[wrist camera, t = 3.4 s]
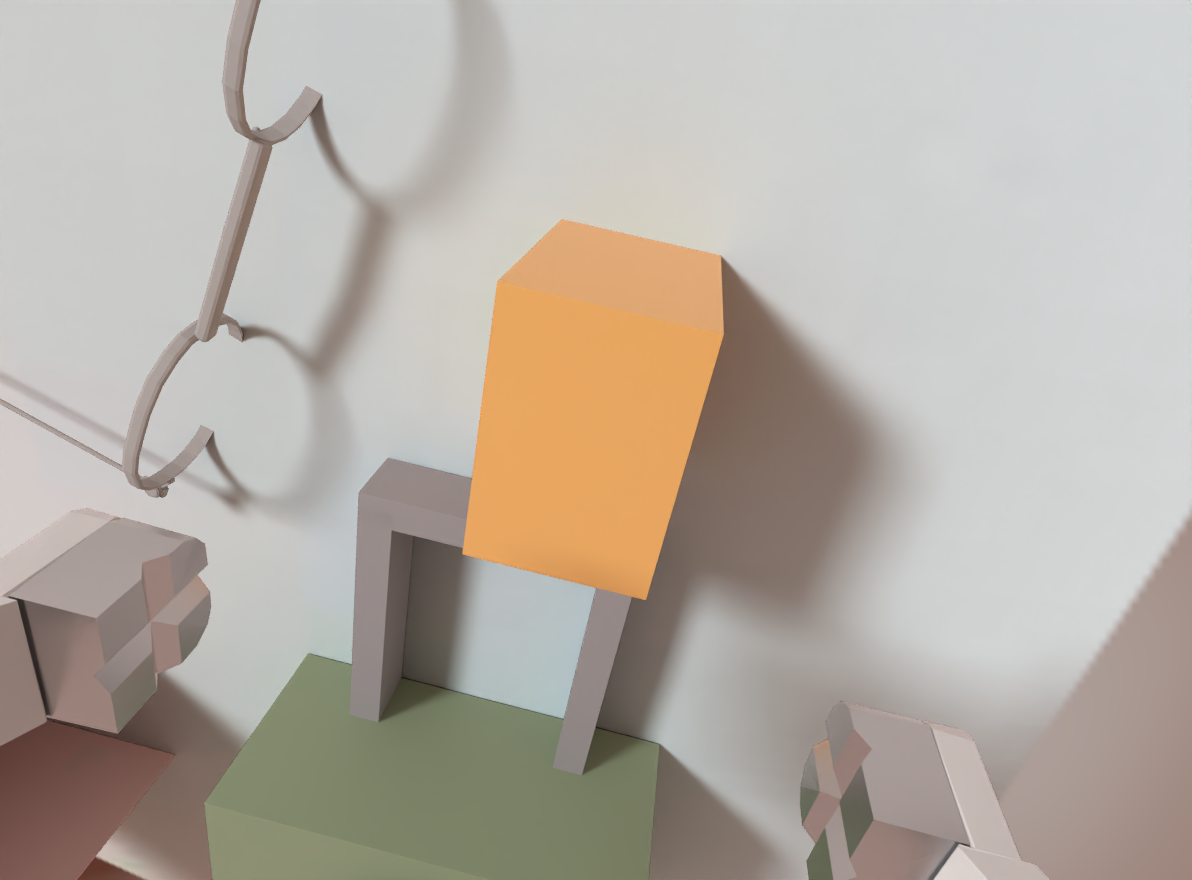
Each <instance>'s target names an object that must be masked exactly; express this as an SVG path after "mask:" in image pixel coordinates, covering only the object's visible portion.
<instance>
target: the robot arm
mask: <svg viewBox="0 0 1192 880" xmlns="http://www.w3.org/2000/svg"><path fill="white" fill-rule="evenodd" d="M207 565H208V562H207V555H206V548H205V543H203V542H201V541H200V540H198V539H197V538H194V537H191V536H187V535H183V534H180V533H176V532H173V531H169V530H166V529H162V528H158V527H155V526H151V525H148V524H144V523H141V522H137V521H133V520H130V519H126V518H119V517H115V516H112V515H109V514H105V513H102V512H98V511H95V510H91V509H88V508H86V509H80V510H75V511H71V512H69V513H68V514H66V515H65V516H63V517H62V518H60V519H59V520H57V521H56V522H55V523H53V524H52V525H50V526H49V527H47V528H46V529H44V530H43V531H41V532H40V533H38V534H37V535H35V536H34V537H32V538H31V539H29V540H28V541H26V542H25V543H23V544H22V545H20V546H19V547H17V548H16V549H14V550H13V551H11V552H10V553H8V554H7V555H5V556H4V557H3V558H1V559H0V746H1V745H3V744H5V743H7V742H9V741H11V740H13V739H15V738H17V737H19V736H21V735H22V734H24V733H26V732H28V731H30V730H32V729H34V728H36V727H38V726H40V725H42V724H44V723H45V722H47V717H48V718H52V719H57V720H61V721H65V722H70V723H74V724H78V725H82V726H87V727H91V728H95V729H100V730H104V731H108V732H112V733H117V734H118V733H119V732H120V731H121V730H122V729H123V727H124V726H125V725H126V724H127V723H128V722H129V721H130V720H131V719H132V718H133V716H134V715H135V714H136V713H137V712H138V711H139V710H140V709H141V708H142V707H143V705H144V704H145V703H146V702H147V701H148V700H149V699H150V698H151V697H152V696H153V694H154V693H155V692H156V691H157V674H158V673H160V672H163V671H165V670H167V669H170V668H172V667H174V666H176V665H179V664H181V663H182V662H183V661H184V660H185V659H186V658H187V657H188V655H189V654H190V653H191V652H192V651H193V650H194V648H195V647H196V646H197V644H198V642H199V640H200V638H201V636H202V634H203V632H204V630H205V628H206V626H207V624H208V620H209V615H210V609H211V598H210V591H209V590H208V588H207V587H206V586H205V584H204V583H203V582H202V580H201V579H200V578H199V576H198V574H199V573H200V572H201V571H202V570H203V569H204V568H205V567H206V566H207ZM826 726H827V732H828V738H829V739H827V740H825V741H823V742H821V743H819V744H817V745H815V746H813V748H812V751H811V753H810V755H809V757H808V759H807V762H806V764H805V768H804V773H803V778H802V783H801V797H800V807H801V816H802V825H803V827H804V828H805V829H806V831H807V832H808V834H809V835H810V836H811V838H812V839H813V841H814V842H815V843H816V845H815V846H814V848H813V850H812V852H811V854H810V856H809V858H808V859H807V868H808V876H809V880H1050V879H1049V878H1048V877H1047V876H1046V875H1045V874H1044V873H1043V872H1042V871H1041V870H1040V869H1039V868H1038V867H1037V866H1036V865H1035V864H1032V863H1028V862H1025V861H1022V859H1021V857H1020V854H1019V852H1018V850H1017V847H1016V844H1015V842H1014V840H1013V837H1012V835H1011V832H1010V829H1009V827H1008V824H1007V822H1006V820H1005V817H1004V814H1003V812H1002V809H1001V807H1000V804H999V802H998V799H997V797H996V794H995V792H994V789H993V787H992V784H991V782H990V779H989V777H988V774H987V772H986V769H985V767H984V764H983V762H982V759H981V757H980V754H979V752H978V749H977V747H976V744H975V742H974V740H973V738H972V737H971V736H970V735H969V734H968V733H967V732H966V731H965V730H960V729H956V728H952V727H948V726H944V725H939V724H935V723H931V722H927V721H919V720H917V719H913V718H909V717H905V716H901V715H897V714H892V713H888V712H884V711H880V710H876V709H872V708H868V707H864V706H860V705H856V704H851V703H847V702H843V701H840V702H839V703H838V704H837V705H836V706H834V707H833V709H832V711H831V713H830V715H829V717H828V718H827V720H826Z"/></svg>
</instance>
